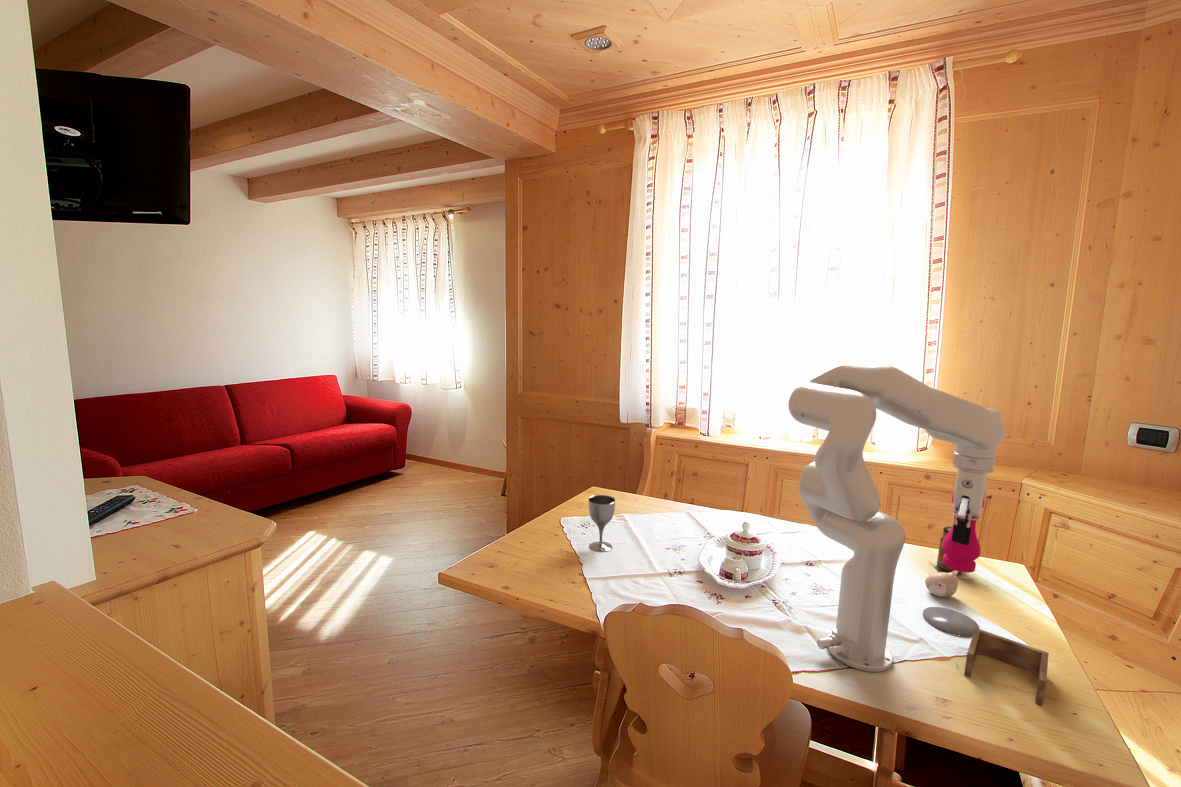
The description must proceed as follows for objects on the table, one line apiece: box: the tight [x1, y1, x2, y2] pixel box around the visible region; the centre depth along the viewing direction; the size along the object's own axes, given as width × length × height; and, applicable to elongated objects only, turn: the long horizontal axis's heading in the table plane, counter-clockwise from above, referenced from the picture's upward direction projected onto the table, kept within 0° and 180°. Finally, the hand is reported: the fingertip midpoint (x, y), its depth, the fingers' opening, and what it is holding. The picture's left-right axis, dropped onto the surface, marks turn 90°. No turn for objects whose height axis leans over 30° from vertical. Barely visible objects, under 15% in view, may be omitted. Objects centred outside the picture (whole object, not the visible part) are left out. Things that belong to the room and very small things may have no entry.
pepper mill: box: [942, 483, 985, 574], centre depth 120 cm, size 7×7×20 cm
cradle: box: [963, 628, 1050, 707], centre depth 105 cm, size 12×12×5 cm
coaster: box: [922, 606, 980, 637], centre depth 124 cm, size 11×11×1 cm
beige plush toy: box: [924, 570, 959, 598], centre depth 135 cm, size 7×6×8 cm
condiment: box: [929, 525, 972, 580], centre depth 148 cm, size 7×8×12 cm
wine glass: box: [588, 494, 616, 553], centre depth 158 cm, size 8×8×15 cm
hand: (962, 538), depth 120 cm, fingers closed on pepper mill, 5 cm apart
